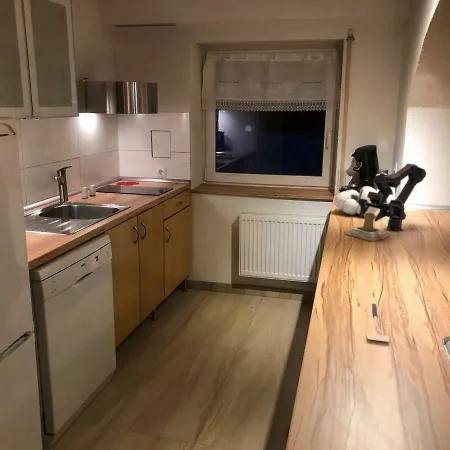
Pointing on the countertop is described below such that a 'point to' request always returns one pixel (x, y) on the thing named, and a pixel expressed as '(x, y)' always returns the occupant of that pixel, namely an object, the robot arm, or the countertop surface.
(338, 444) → the countertop surface
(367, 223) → the cork
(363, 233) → the shaker holder
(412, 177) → the robot arm
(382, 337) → the spatula
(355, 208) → the white lobed sculpture
